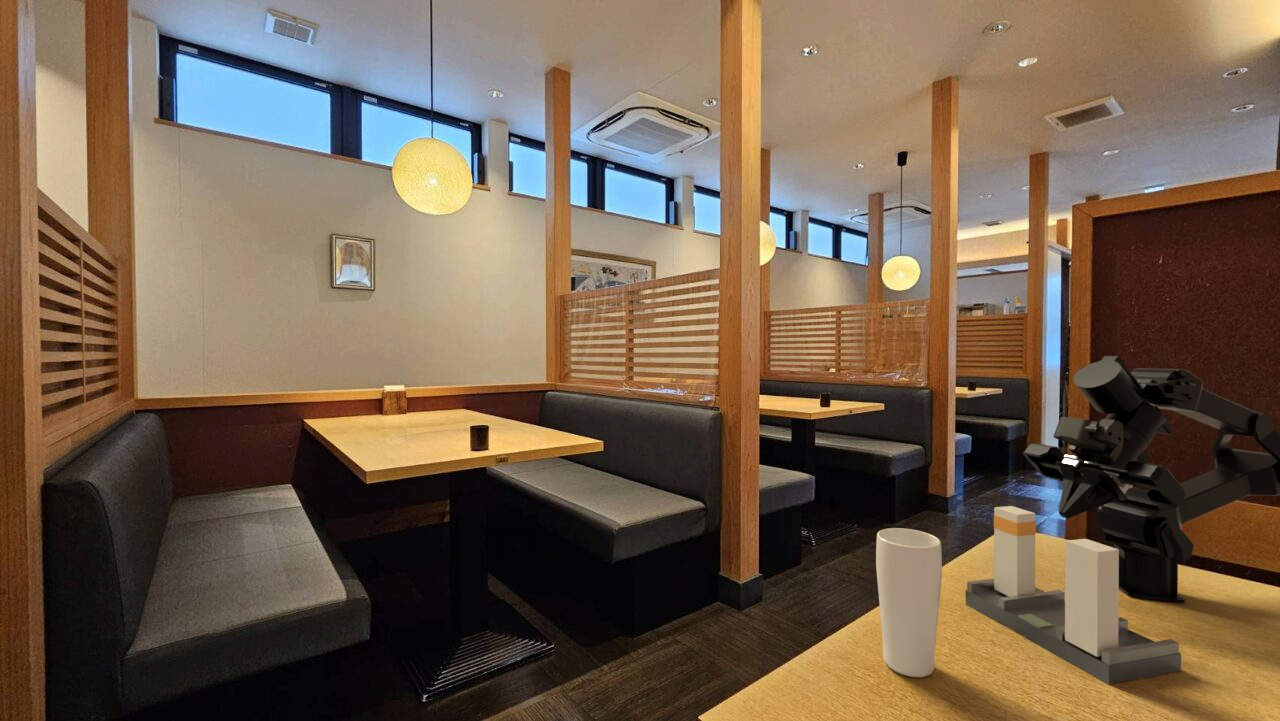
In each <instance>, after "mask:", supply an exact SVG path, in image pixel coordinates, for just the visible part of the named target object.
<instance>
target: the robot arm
mask: <svg viewBox="0 0 1280 721" xmlns="http://www.w3.org/2000/svg"><path fill="white" fill-rule="evenodd" d="M1073 383H1074V384H1075V385H1076V386H1077V389H1078V390H1080V392H1081V393H1082V394H1083V395H1084V397H1086V399H1087V400H1088V402H1089V403H1090V404H1091V405H1092V407H1093V408H1094V409H1095V410H1096V412H1099V413H1100V414H1107V416H1106V417H1105V418H1102V419H1100V421H1093V420H1089V419H1084V418H1076V417H1075V418H1074V417H1068V416H1067V417H1066V416H1060V418H1059V421H1058V423H1057V425H1056V428H1055V431H1054V433H1053V438H1054V439H1056V440H1060V441H1063V442H1065V443H1067V444H1068V445H1069V446H1068V447H1067V449H1068V450H1069V451H1070V452H1071V453H1072V454H1073V455H1069V454H1064V453H1063V452H1062V451H1061V450H1060V448H1059V447H1058V446H1052V445H1048V444H1042V443H1030V444H1029V445H1028V446H1027V448H1026V449H1025V450H1024V451H1023V453H1022V454H1023V456H1024V457H1025V458H1026V460H1027V461H1028V462H1029V463H1030V464H1031V465H1032V467H1034V469H1035V470H1036V472H1038V473H1039V474H1040V476H1042V477H1043V478H1045V479H1050V480H1054V481H1058V482H1062V492H1061V497H1060V502H1059V508H1058V514H1059V515H1060V516H1061V518H1064V519H1070V518H1074V517H1075V516H1078V515H1080V514H1081V515H1082V514H1083V513H1085V512H1087V511H1090V510H1093V509H1095V508H1097V511H1096V520H1097V522H1098V526H1099V529H1100V533H1101V536H1102V540H1103V542H1104V543H1106V544H1111V545H1114V548H1116V549H1119V590H1121V591H1122V592H1124V593H1125V594H1126V595H1127V596H1129V597H1132V598H1140V599H1149V600H1156V601H1157V600H1159V601H1167V602H1172V603H1173V602H1175V603H1182V604H1184V603H1185V602H1186V601H1185V600H1186V599H1185V598H1184V597H1183V596H1182V595H1180V594H1179V593H1178V591H1179V588H1178V587H1179V586H1178V584H1179V583H1178V581H1179V563H1182V564H1183V563H1187V560H1190V559H1192V555H1193V550H1194V546H1195V545H1194V543H1193V542H1192V541H1191V540H1190V538H1189V537H1188V536H1187V535H1186V534H1185V532H1184V531H1183V526H1182V525H1183V524H1185V523H1187V522H1191V521H1193V520H1195V519H1196V518H1199V517H1201V516H1204V515H1207V514H1208V513H1211V512H1213V511H1215V510H1217V509H1220V508H1222V507H1225V506H1226V505H1227V506H1228V505H1229V504H1232V503H1234V502H1236V501H1239V500H1242V499H1244V498H1245V497H1246V498H1247V497H1249V496H1255V497H1256V496H1265V497H1266V496H1268V497H1269V496H1271V497H1272V496H1275V497H1276V496H1277V497H1278V496H1280V433H1279V432H1278V431H1276V430H1275V428H1274V425H1273V421H1272V419H1271V417H1270V415H1268V414H1265V413H1263V412H1261V411H1255V410H1252V409H1250V408H1248V407H1246V406H1243V405H1240V404H1239V403H1236V402H1234V401H1231V400H1230V399H1227V398H1224V397H1222V396H1220V395H1217V394H1215V393H1213V392H1210V391H1208V390H1207V389H1205V388H1203V385H1204V382H1203V380H1201V379H1200V378H1198V377H1197V376H1196V375H1195V374H1193V373H1192V372H1191V371H1190V370H1187V369H1183V368H1181V369H1178V368H1147V367H1146V368H1144V367H1143V368H1142V367H1140V368H1139V367H1137V368H1133V370H1132V371H1130V370H1129V369H1128V367H1127V365H1126V363H1125V362H1124V360H1123V359H1122V357H1121V356H1120V355H1113V356H1112V355H1104V356H1103V357H1102V359H1101V360H1098V361H1096V362H1092V363H1090V364H1088V365H1085V366H1084V367H1083V368H1081V369H1078V370H1077V371H1076V372H1075V374H1074V376H1073ZM1161 410H1168V411H1173V412H1176V413H1178V414H1181V415H1183V416H1185V417H1188V418H1190V419H1193V420H1195V421H1197V422H1199V423H1202V424H1204V425H1207V426H1208V427H1209V426H1210V427H1212V428H1214V429H1216V431H1217V434H1218V437H1217V439H1216V441H1215V443H1214V445H1213V446H1212V448H1211V453H1212V455H1213V457H1214V466H1215V469H1213V470H1210V471H1207V472H1205V473H1202V474H1200V475H1197V476H1195V477H1193V478H1191V479H1188V480H1185V481H1183V482H1180V483H1179V481H1178V480H1177V478H1175V476H1174V475H1173V473H1171V471H1170V470H1169V469H1168V467H1167V466H1166V465H1163V464H1156V463H1152V462H1151V463H1150V462H1146V461H1147V459H1148V458H1149V455H1148V454H1147V453H1146V451H1145V449H1146V448H1147V447H1148V445H1149V444H1150V442H1151V441H1152V440H1153V439H1154V437H1155V436H1156V435H1157V434H1165V435H1171V434H1172V433H1173V427H1172V425H1171V424H1170V421H1169V416H1168V415H1166V414H1164V413H1163V412H1162V411H1161ZM1233 436H1239V437H1249V438H1254V440H1255V442H1256V443H1257V444H1259V446H1261V447H1262V448H1263V449H1264V450H1265V451H1266V452H1260V451H1252V450H1251V451H1250V450H1246V449H1245V450H1244V449H1237V448H1233V447H1232V444H1231V440H1232V439H1233ZM1075 455H1076V456H1075ZM1134 486H1135V487H1134ZM1137 487H1140V488H1137ZM1143 488H1144V489H1143ZM1148 489H1149V490H1148Z"/></svg>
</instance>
